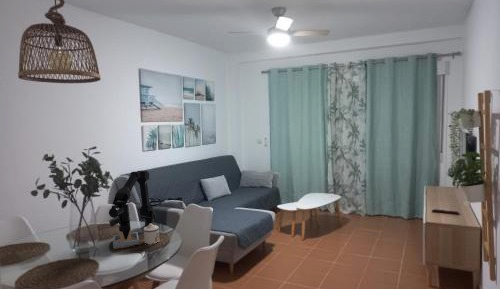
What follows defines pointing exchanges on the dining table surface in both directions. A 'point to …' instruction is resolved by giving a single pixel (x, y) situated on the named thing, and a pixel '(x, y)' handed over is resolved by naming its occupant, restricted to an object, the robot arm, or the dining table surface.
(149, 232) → the teacup with lid
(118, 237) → the big crate
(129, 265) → the dining table surface
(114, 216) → the robot arm
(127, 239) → the small crate
